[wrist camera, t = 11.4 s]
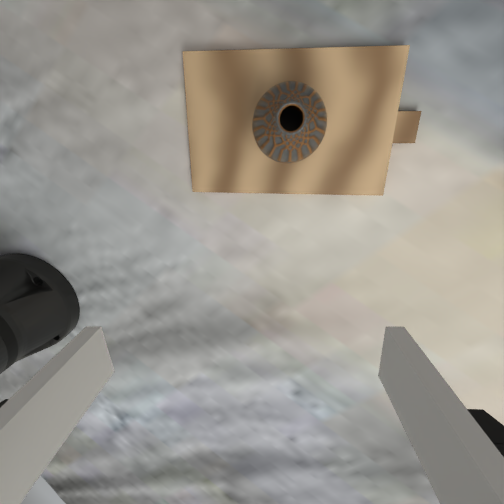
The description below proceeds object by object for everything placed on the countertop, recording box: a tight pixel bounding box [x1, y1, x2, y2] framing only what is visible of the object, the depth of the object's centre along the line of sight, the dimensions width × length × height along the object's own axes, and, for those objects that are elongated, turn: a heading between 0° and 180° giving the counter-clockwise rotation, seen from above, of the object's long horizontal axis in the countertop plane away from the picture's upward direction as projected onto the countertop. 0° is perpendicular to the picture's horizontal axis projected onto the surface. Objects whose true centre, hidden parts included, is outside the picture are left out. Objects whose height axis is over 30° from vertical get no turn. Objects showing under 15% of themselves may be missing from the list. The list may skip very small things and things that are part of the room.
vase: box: [252, 81, 327, 163], centre depth 24 cm, size 7×7×9 cm
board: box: [183, 45, 421, 195], centre depth 29 cm, size 24×14×1 cm, turn 90°
